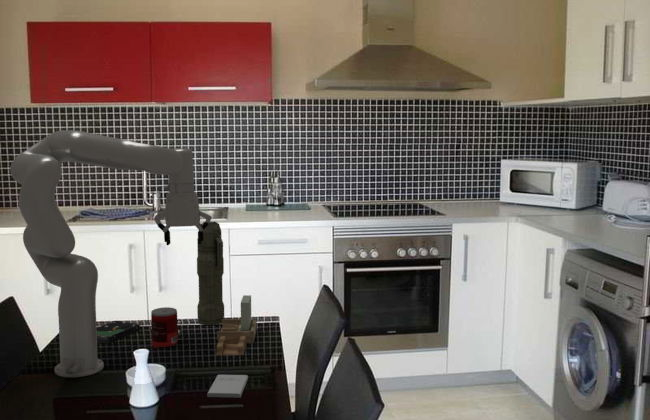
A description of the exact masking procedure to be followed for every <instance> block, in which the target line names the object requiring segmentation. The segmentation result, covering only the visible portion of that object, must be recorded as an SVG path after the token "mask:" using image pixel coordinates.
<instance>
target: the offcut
mask: <svg viewBox="0 0 650 420" xmlns="http://www.w3.org/2000/svg"><path fill="white" fill-rule="evenodd" d="M221 326H222V325H221ZM221 330H222V331H236V324H223V326H222V327H221Z"/></svg>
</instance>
